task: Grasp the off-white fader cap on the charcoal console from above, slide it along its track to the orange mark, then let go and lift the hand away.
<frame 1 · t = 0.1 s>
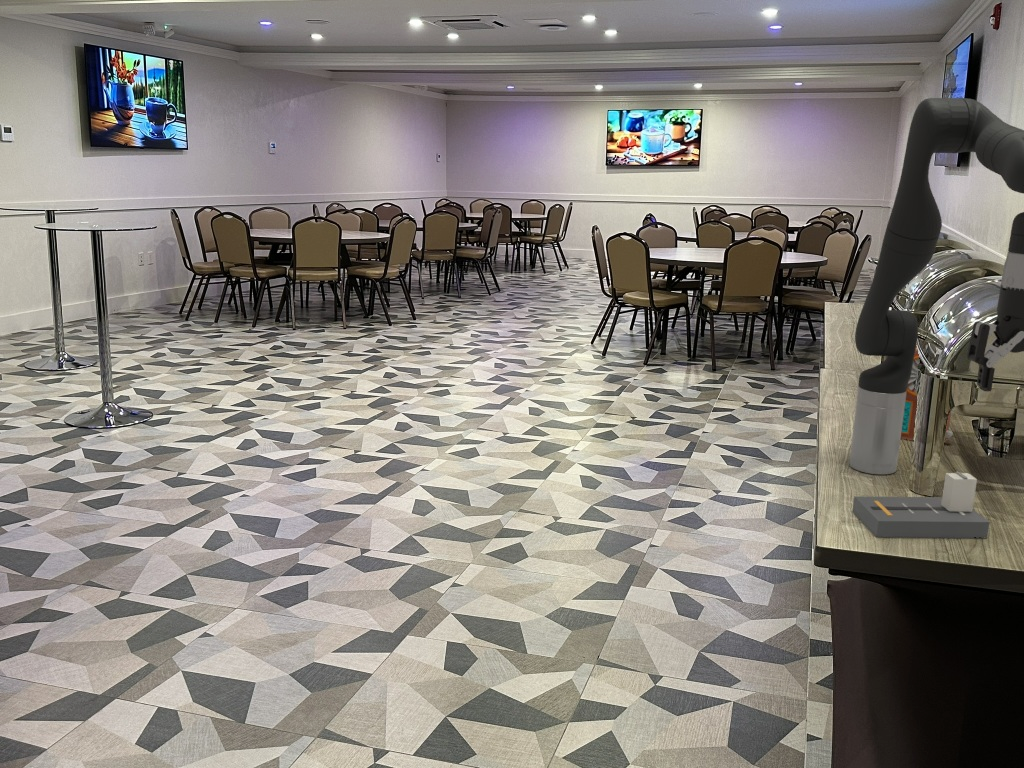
hand: (1012, 390, 134), 29 cm above the table, tool pointing down, fingers open, 8 cm apart
console: (917, 524, 157), on the table
fader: (959, 491, 155), point 6 cm above the table, slide at 0.0 cm
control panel: (915, 438, 204), on the table
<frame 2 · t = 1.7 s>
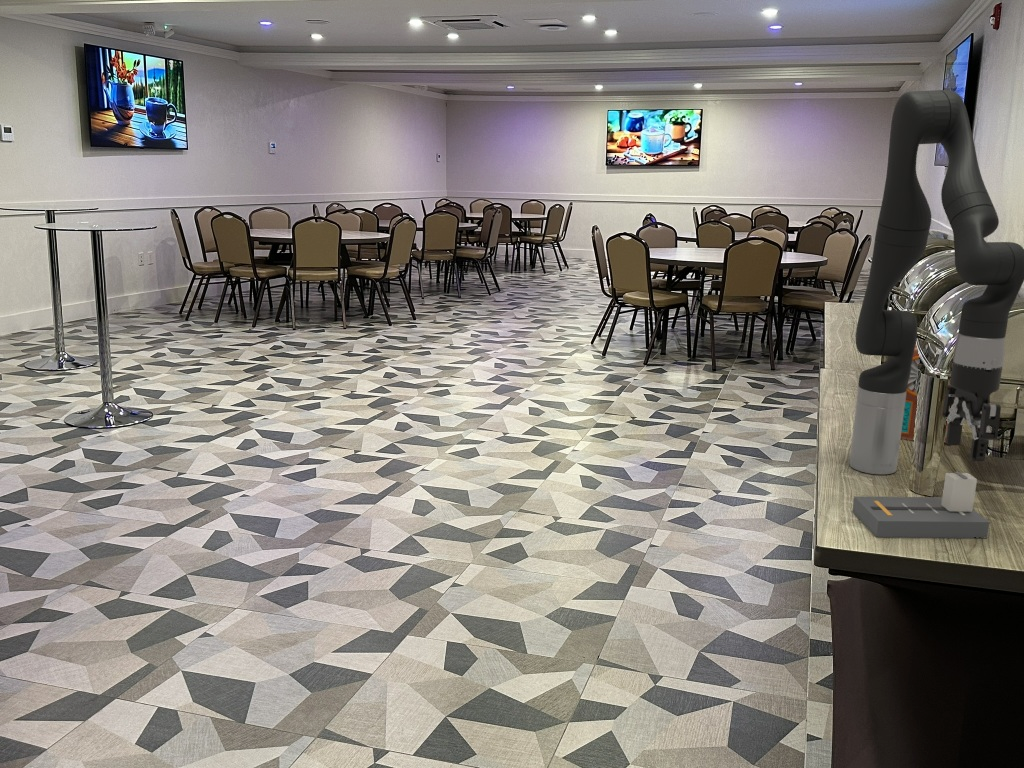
hand: (964, 452, 153), 14 cm above the table, tool pointing down, fingers open, 8 cm apart
nothing on the table moved.
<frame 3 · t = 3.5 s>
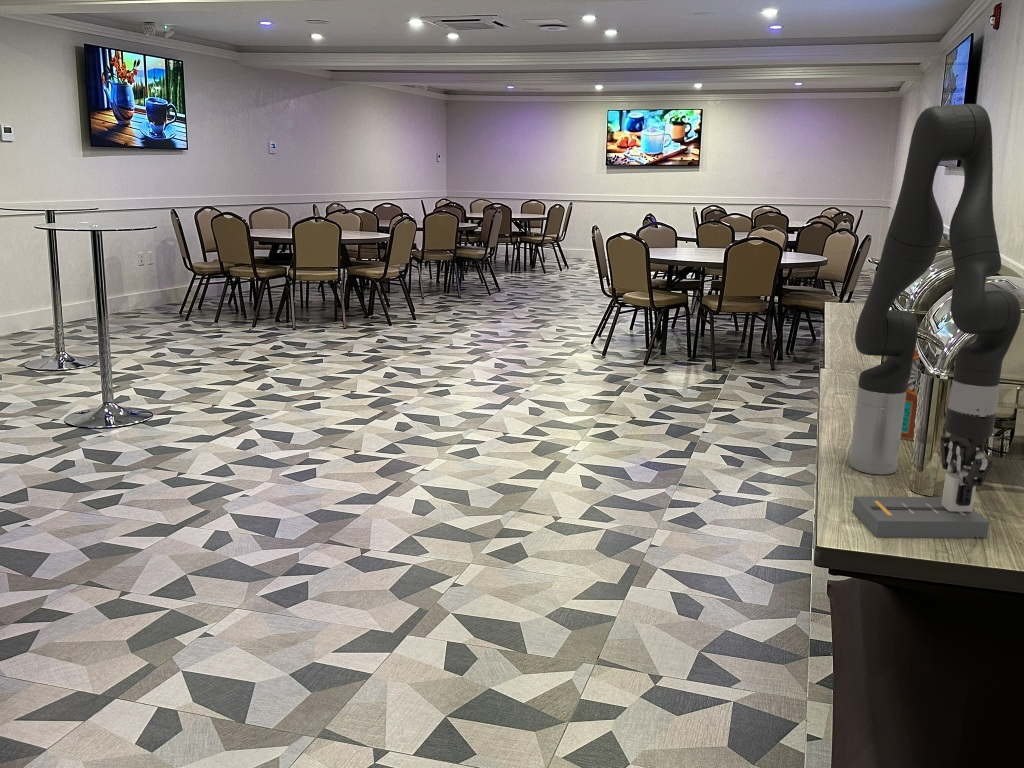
hand: (957, 500, 156), 5 cm above the table, tool pointing down, fingers closed on fader, 3 cm apart
fader: (959, 491, 155), point 6 cm above the table, slide at 0.0 cm, touching gripper
everything else where it was.
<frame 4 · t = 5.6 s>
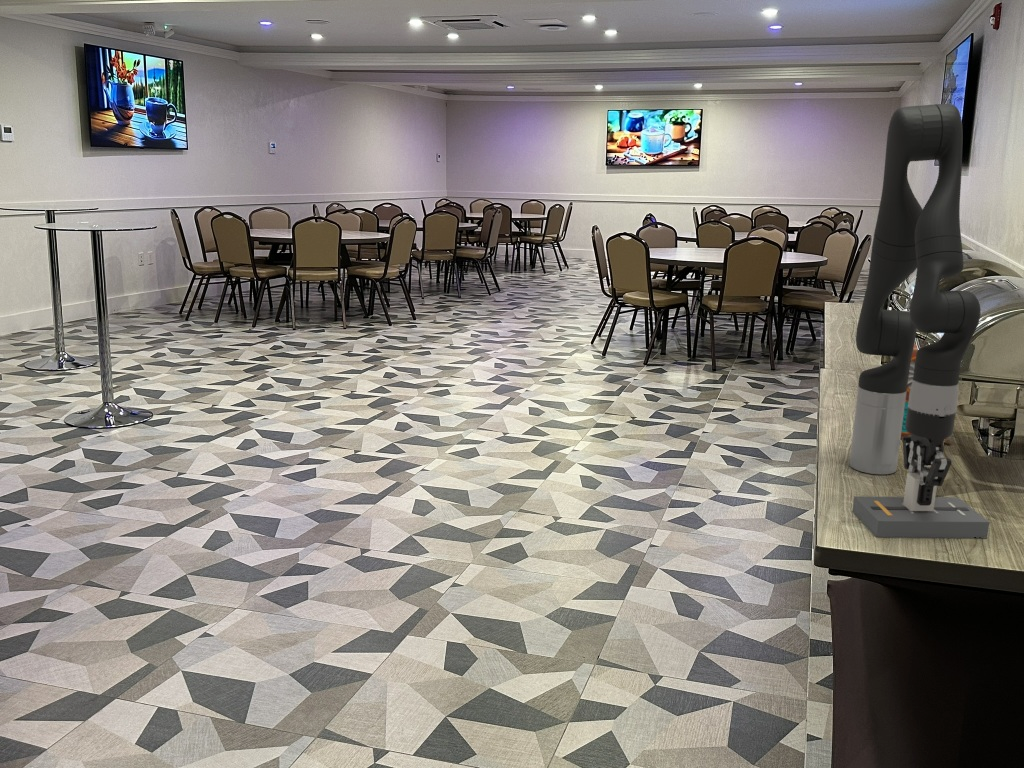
hand: (919, 500, 155), 5 cm above the table, tool pointing down, fingers closed on fader, 3 cm apart
fader: (920, 491, 155), point 6 cm above the table, slide at 6.8 cm, touching gripper
everything else where it was.
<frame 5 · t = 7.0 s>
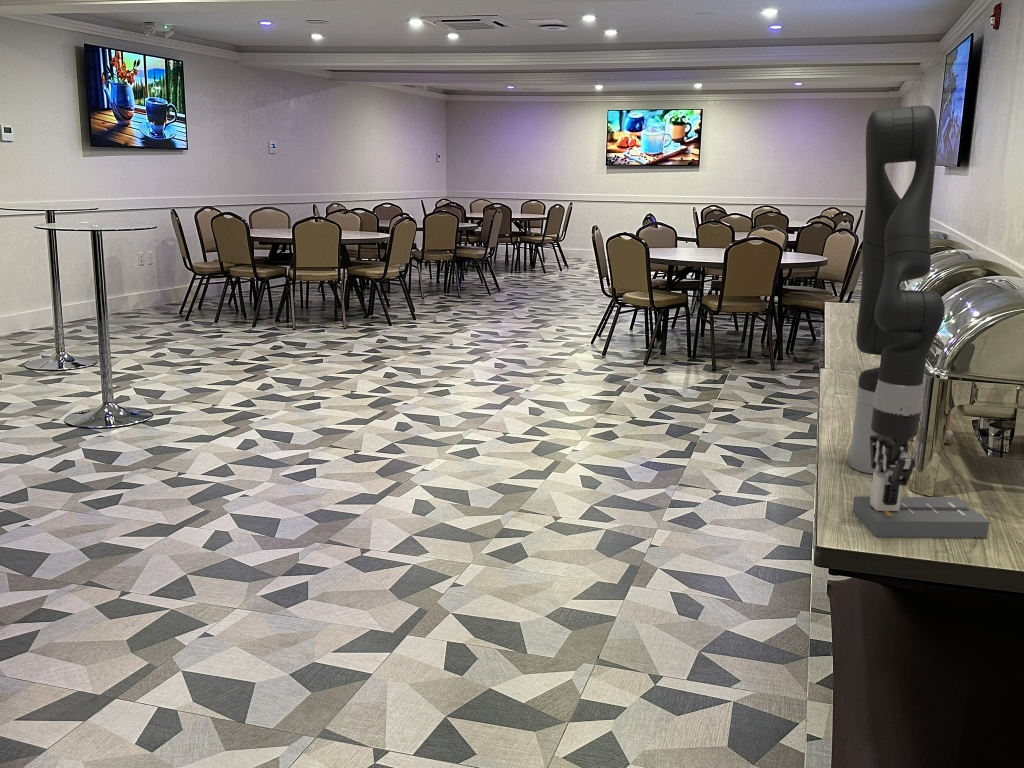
hand: (885, 499, 155), 5 cm above the table, tool pointing down, fingers closed on fader, 3 cm apart
fader: (886, 490, 155), point 6 cm above the table, slide at 12.8 cm, touching gripper
everything else where it was.
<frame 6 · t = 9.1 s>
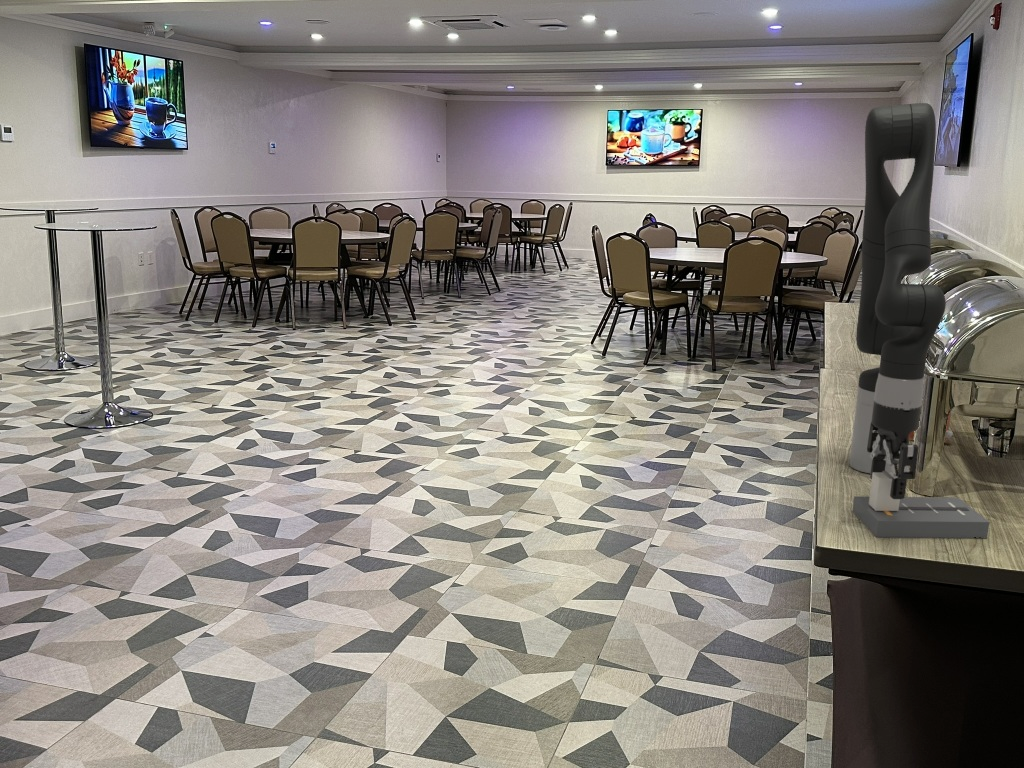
hand: (886, 488, 155), 7 cm above the table, tool pointing down, fingers open, 8 cm apart
fader: (885, 490, 155), point 6 cm above the table, slide at 12.9 cm
everything else where it was.
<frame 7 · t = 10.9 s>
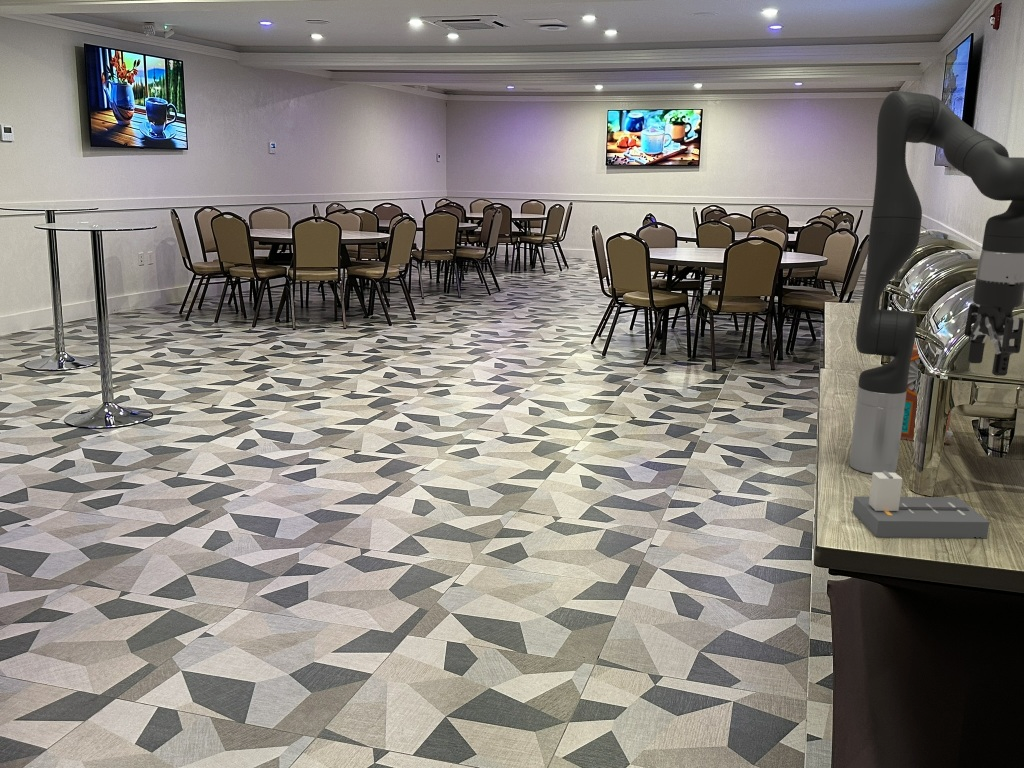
hand: (986, 368, 156), 27 cm above the table, tool pointing down, fingers open, 8 cm apart
nothing on the table moved.
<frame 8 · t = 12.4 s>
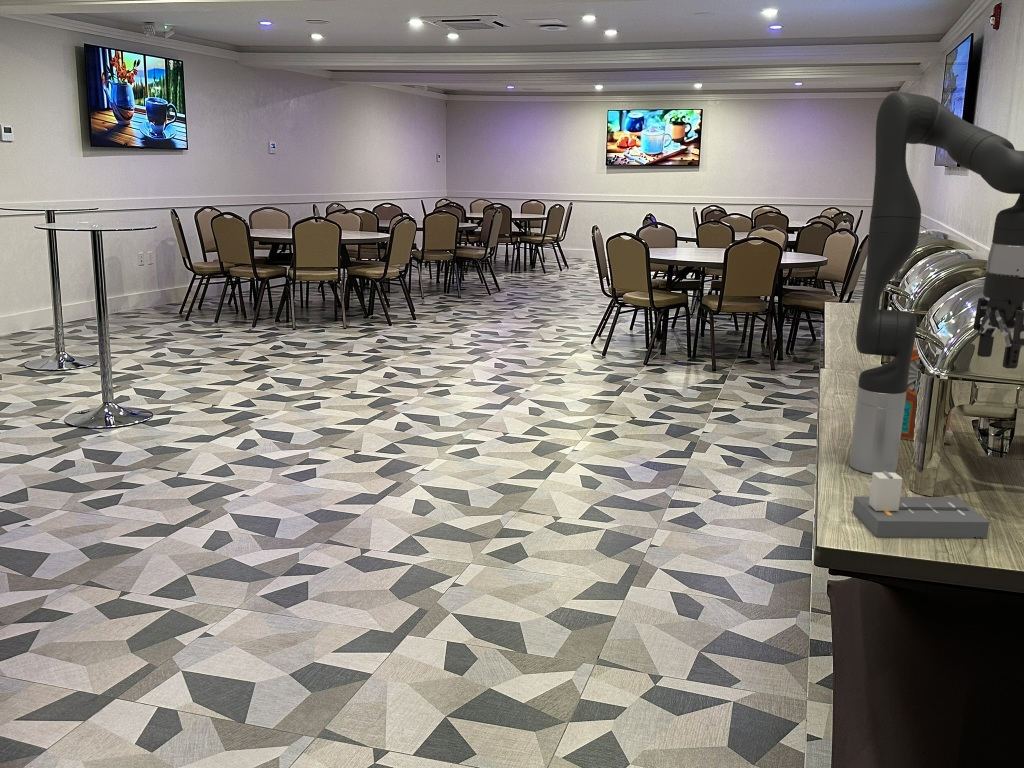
hand: (996, 362, 156), 28 cm above the table, tool pointing down, fingers open, 8 cm apart
nothing on the table moved.
at the end: fader slide at 12.9 cm; the gripper is holding nothing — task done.
